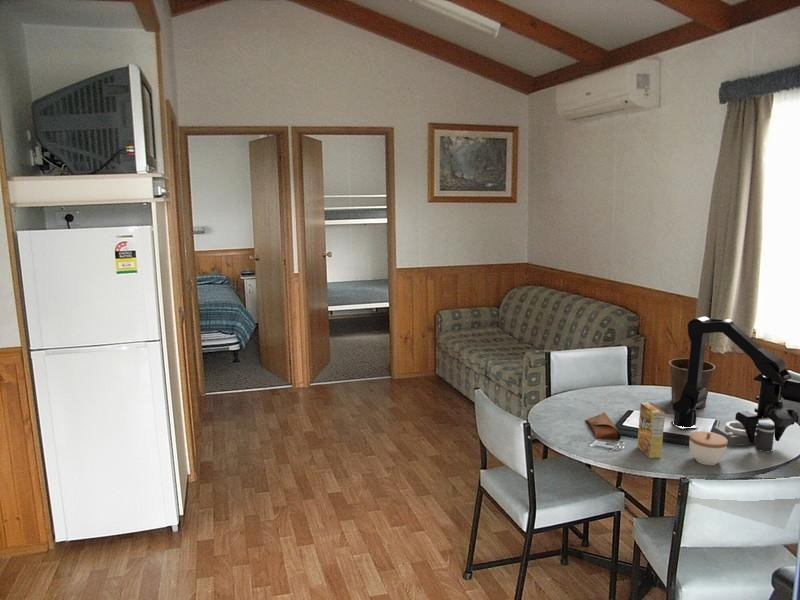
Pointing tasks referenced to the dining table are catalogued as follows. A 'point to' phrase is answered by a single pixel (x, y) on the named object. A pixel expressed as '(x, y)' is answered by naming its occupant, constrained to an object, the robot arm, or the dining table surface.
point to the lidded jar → (707, 447)
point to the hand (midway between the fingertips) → (764, 441)
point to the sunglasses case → (603, 427)
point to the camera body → (734, 433)
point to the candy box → (651, 430)
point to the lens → (765, 436)
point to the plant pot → (680, 377)
